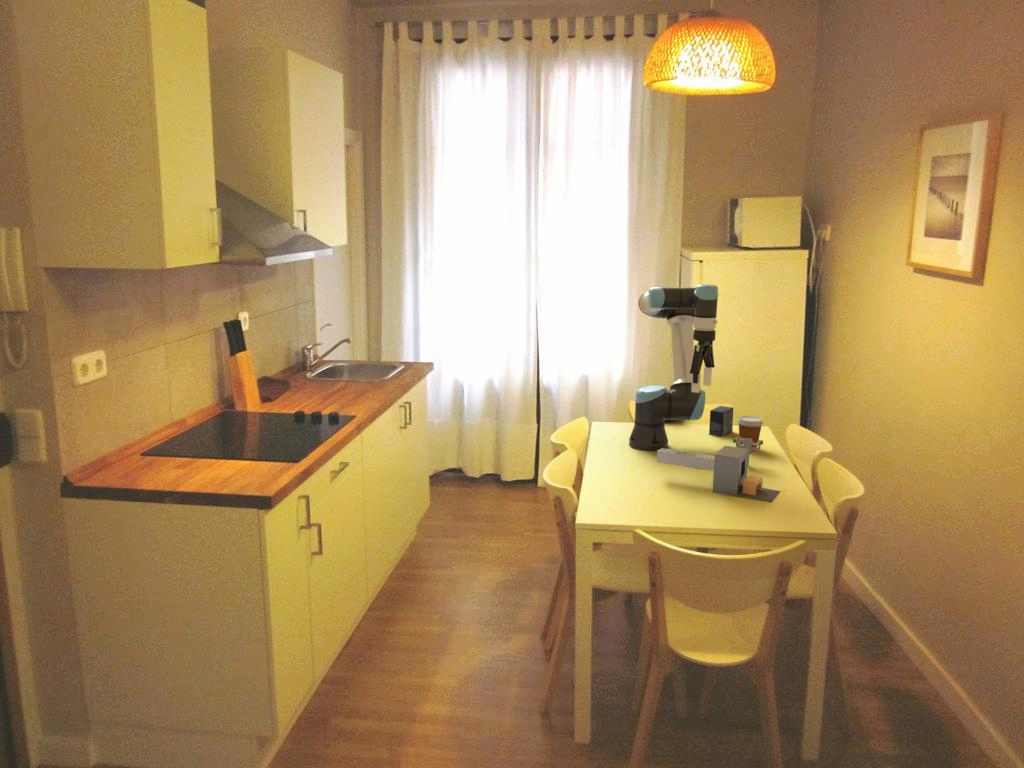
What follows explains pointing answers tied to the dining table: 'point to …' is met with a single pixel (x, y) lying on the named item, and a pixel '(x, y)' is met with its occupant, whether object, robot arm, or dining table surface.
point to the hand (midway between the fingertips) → (701, 388)
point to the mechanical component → (747, 444)
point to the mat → (761, 495)
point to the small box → (721, 421)
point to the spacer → (752, 484)
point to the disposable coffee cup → (750, 428)
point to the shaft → (686, 459)
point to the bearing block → (730, 470)
